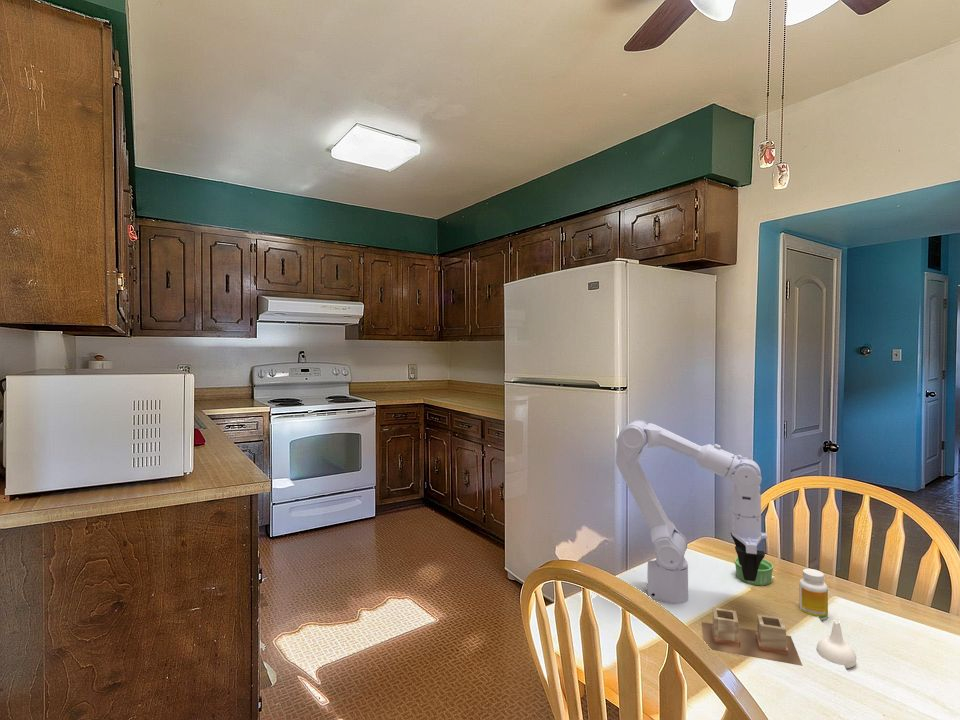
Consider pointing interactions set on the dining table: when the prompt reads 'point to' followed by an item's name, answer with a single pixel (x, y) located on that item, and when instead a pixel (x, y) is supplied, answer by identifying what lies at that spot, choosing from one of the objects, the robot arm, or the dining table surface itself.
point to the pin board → (751, 646)
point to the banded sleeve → (771, 635)
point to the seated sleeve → (725, 627)
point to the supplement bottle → (813, 594)
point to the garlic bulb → (836, 648)
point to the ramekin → (762, 575)
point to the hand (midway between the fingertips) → (747, 572)
